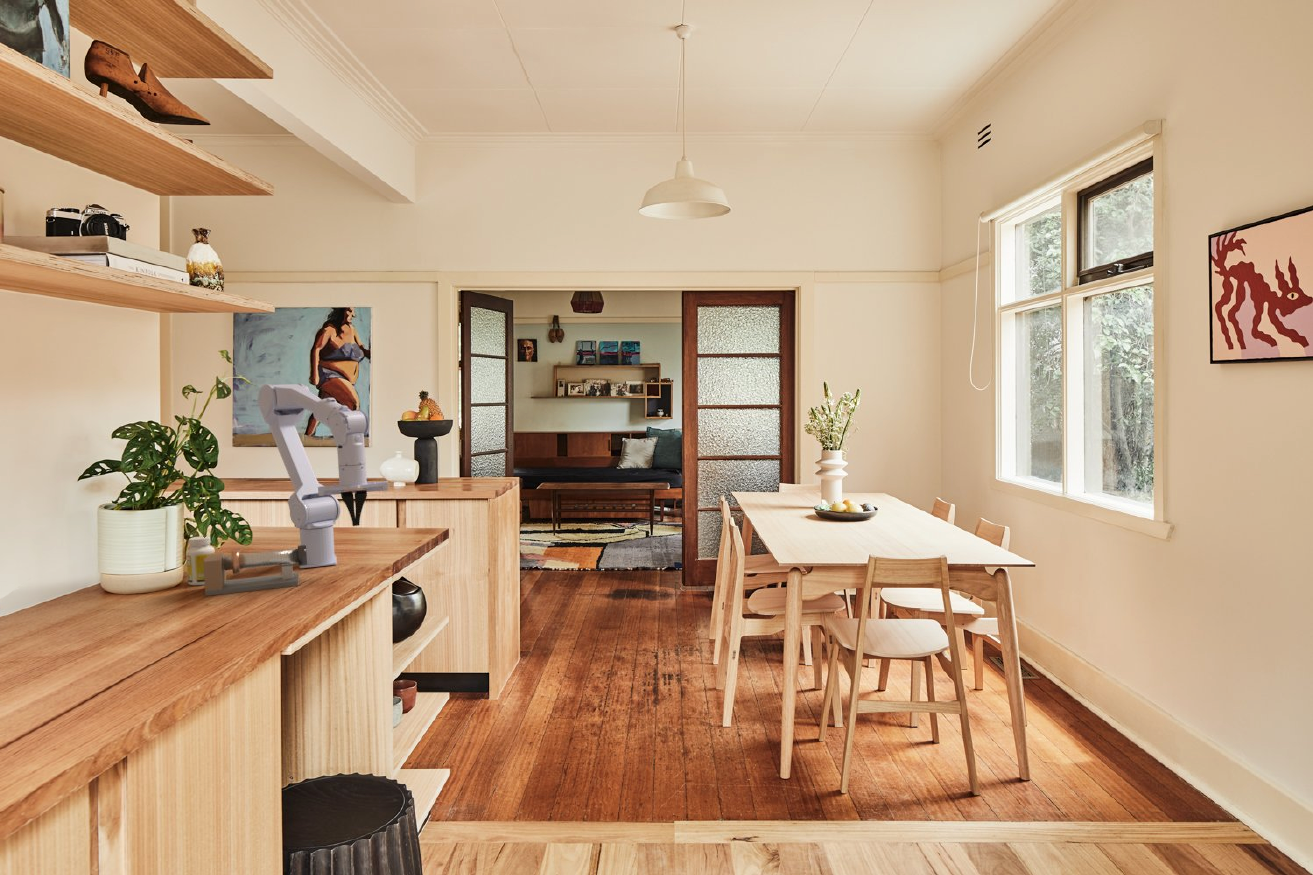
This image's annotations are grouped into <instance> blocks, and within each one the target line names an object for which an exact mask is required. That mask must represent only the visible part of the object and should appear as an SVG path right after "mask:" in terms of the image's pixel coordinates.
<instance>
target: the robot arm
mask: <svg viewBox="0 0 1313 875" xmlns="http://www.w3.org/2000/svg"><path fill="white" fill-rule="evenodd" d="M257 404H258V407H259V409H260V412H261V415H262V417H263V419H264V422H265V423H266V424H267V425H268V426H269V430H270V432H271V434H272V437H273V440H274V442H275V444H276V447H277V449H278V452H279V454H280V457H281V460H282V462H283V464H284V467H285V469H286V471H287V475H288V478H289V479H290V482H291V484H292V487H293V489H294V491H293V492H292V494H291V495H290V497H288V500H287V505H288V509H289V516H290V520H291V523H293V525H294V526H295V527H296V529H299V541H300V542H299V545H306V551H307V565H305V566H299V565H298V567H299V569H305V568H315V567H316V568H317V567H324V566H325V567H326V566H335V565H338V559H337V554H335V540H334V525H336V521H337V520H338V519H339V517H340V514H341V504H340V501H339V500H338V499H337V497H336V496H335V495H340V497H341V499H342V501H343V502H344V505H345V507H346V508H347V510H348V514H349V515H350V518H351V524H352V527H357V526H360V523H361V521H360V520H361V515H362V510H363V508H364V504H365V501H366V499H367V497H368V493H370V492H380V491H383V492H386V491H387V492H388V491H389V482H388V481H385V480H384V481H369V482H368V481H367V477H368V476H367V465H366V448H365V447H366V446H365V435H366V434H367V433H368V432H369V428H370V421H369V417H368V416H367V413H365V411H363V410H362V409H356V410H351V409H350V408H349V406H347V405H343V404H341V403H338V402H337V399H335V397H327V398H320V397H318V396H317V395H316V394H314V393H313V392H311V391H310V389H309V386H308V385H304V384H303V383H295V384H294V383H291V384H290V383H288V384H287V383H285V384H270V383H266V384H263V385H262V386H261V387H260V388H259V391H258V397H257ZM305 411H308V412H310V413H311V414H313V418H314V419H315V421H317V422H319V423H321V424H323V425H324V426H326V427H328V428H329V430H330V432H331V434H332V436H333V443H334V445H335V446H336V450H337V464H338V465H337V466H338V467H337V468H338V479H339V480H338V482H339V484H332V485H323V484H321V483H320V482H319V481H318V479H317V477H316V475H315V472H314V469H313V467H312V464H311V461H310V460H309V457H308V454H307V453H306V450H305V448H304V444H303V443H302V439H301V437H300V436H299V433H298V430H297V428H296V424H297V423H299V422H301V421H302V419H303V416H304V415H305V414H304V413H305Z"/></svg>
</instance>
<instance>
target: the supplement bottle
mask: <svg viewBox="0 0 1313 875" xmlns="http://www.w3.org/2000/svg"><path fill="white" fill-rule="evenodd" d="M203 536H204V535H202V537H201V536H193V537H190V538H189V539H188V545H189V546H190V548H188V549H187V550H186V552H185V553H186V554H185V555H186V571H187V582H188V585H190V586H203V585H204V586H205V580H204V565H203V562H204V560H205V558H206V557H207V555H208V554H214V553H216V550H215V548H214V547H213V546H212V545H211V543H212V542H211V536H208V535H205V536H206V537H205V538H204V537H203Z"/></svg>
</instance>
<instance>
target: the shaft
mask: <svg viewBox="0 0 1313 875" xmlns="http://www.w3.org/2000/svg"><path fill="white" fill-rule="evenodd" d="M223 563H224V570H226V571H232V574H233V575H240V574H241V573H242V572H241V570H243V569H254V568H263V567H273V566H282V565H284V564H298V567H299V566H305V565H307V551H306V545H300V544H299V545H297V548H293V549H283V550H273V551H261V552H251V553H243V554H241V551H240V549H233V550H231V555H225V556H224V559H223Z"/></svg>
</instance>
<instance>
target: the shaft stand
mask: <svg viewBox="0 0 1313 875" xmlns="http://www.w3.org/2000/svg"><path fill="white" fill-rule="evenodd" d="M224 556H226V554H225V552H218V553H217V552H215V553H214V554H208V555H207V557H206V558H205V560H204V562H203V565H204V580H205V585H204V593H205V597H209V596H217V595H218V596H219V595H226V594H227V595H228V594H237V593H245V592H254V591H262V590H270V589H279V588H281V589H282V588H288V587H298V586H299V580H300V574H299V572H294V569H293V567H294V566H293V564H294V563H293V564H283V565H281V574H275V575H264V576H255V577H247V578H246V577H244V578H235V579H227V572H226V571H227V570H224V563H223V559H224Z"/></svg>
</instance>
